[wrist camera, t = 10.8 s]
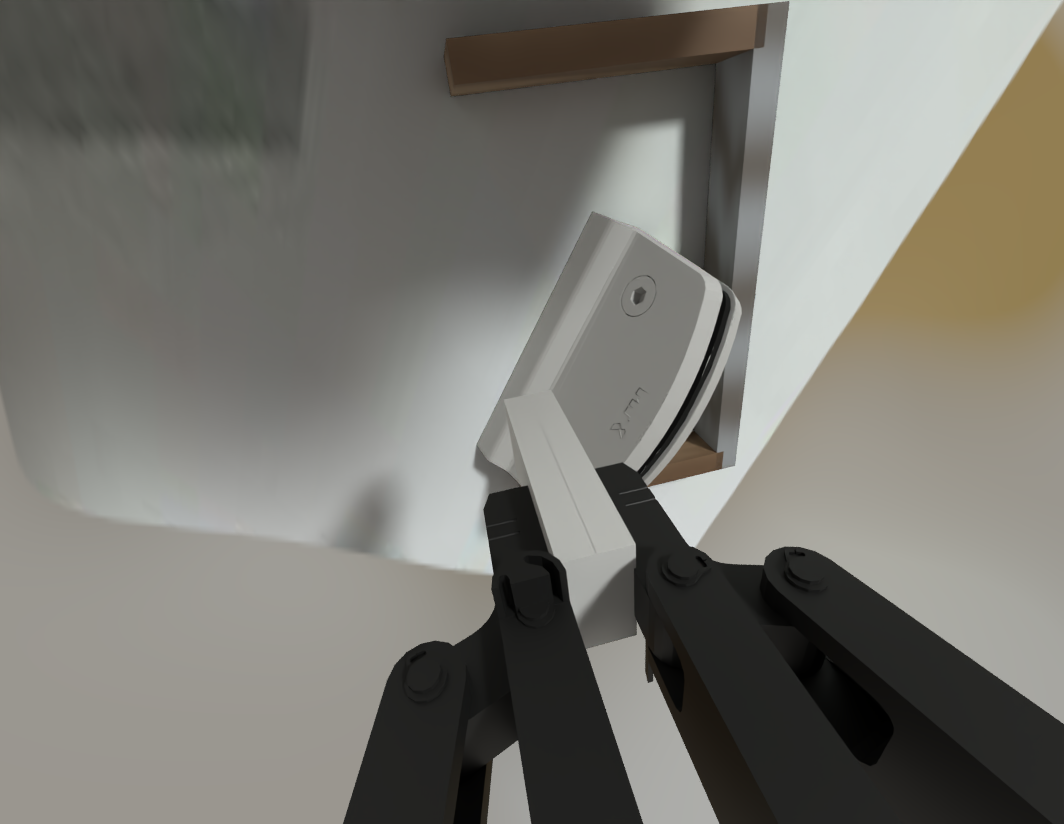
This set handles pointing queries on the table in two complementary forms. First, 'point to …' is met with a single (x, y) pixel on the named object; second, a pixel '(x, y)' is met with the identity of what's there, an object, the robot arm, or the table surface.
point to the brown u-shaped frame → (736, 149)
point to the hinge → (624, 350)
